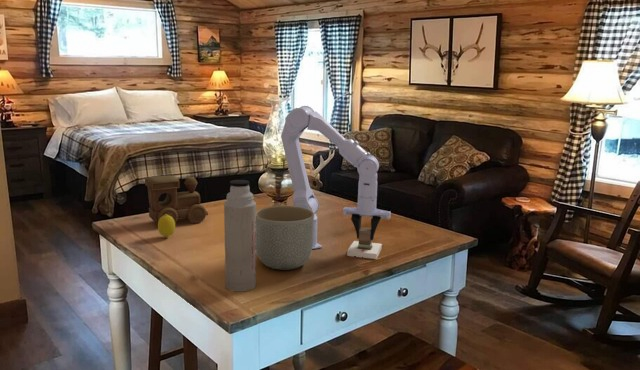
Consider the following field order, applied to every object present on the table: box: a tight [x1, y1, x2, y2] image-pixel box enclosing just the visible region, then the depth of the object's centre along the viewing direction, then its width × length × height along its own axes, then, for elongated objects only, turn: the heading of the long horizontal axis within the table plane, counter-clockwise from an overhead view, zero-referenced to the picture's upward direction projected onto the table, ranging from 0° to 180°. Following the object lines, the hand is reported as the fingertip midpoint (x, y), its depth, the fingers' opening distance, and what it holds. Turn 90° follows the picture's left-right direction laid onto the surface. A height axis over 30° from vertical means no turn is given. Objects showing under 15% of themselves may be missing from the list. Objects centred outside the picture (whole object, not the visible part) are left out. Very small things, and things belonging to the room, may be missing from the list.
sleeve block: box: [346, 240, 383, 260], centre depth 171 cm, size 10×9×2 cm
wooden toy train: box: [144, 174, 209, 224], centre depth 196 cm, size 20×11×17 cm, turn 121°
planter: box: [256, 205, 314, 271], centre depth 158 cm, size 17×17×15 cm
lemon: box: [157, 214, 176, 238], centre depth 179 cm, size 6×6×8 cm
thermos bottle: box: [223, 179, 257, 292], centre depth 141 cm, size 8×8×28 cm
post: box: [358, 226, 373, 250], centre depth 170 cm, size 4×4×6 cm
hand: (365, 238), depth 170 cm, fingers closed on post, 3 cm apart
